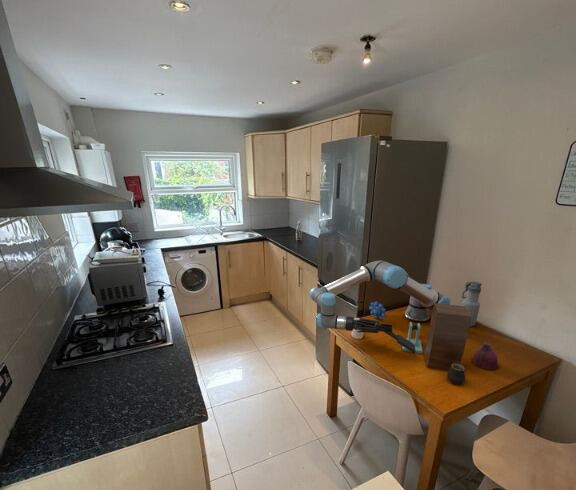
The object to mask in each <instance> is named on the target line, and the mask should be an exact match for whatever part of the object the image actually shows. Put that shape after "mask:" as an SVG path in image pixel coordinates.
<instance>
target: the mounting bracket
mask: <svg viewBox="0 0 576 490" xmlns="http://www.w3.org/2000/svg"><path fill="white" fill-rule="evenodd" d="M412 324H413V321H412V322H411V321H410V322H409V324H408V332H407V337H404V338H405V339H407V340H408V341H410V342H412V343H413V344H415V350H416V352H415V353H414V354H423V353H424V352H423V350H424V349H423V346H422V341H421V340H420V339H419V338H420V331H421V329H422V327H421V322H417V324H416V325H417V330H416V331H415V338H411V337H412V331H413V330H412ZM401 347H402V348H401V349H402V351H403V352H410V353H412V352H411V351H409V350H408V349H406V348H405V347H403V346H402V345H401Z"/></svg>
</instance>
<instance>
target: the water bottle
mask: <svg viewBox="0 0 576 490" xmlns="http://www.w3.org/2000/svg"><path fill="white" fill-rule="evenodd" d="M482 285H483V283H482V282H478V281H474V280H472V281H468V282H466V283H465V284H464V289H465V290H463V291H462V295H461V298H462V299H463V300H462V302H461V306H466V308H467V310H468V311H469V313H470V315H471V316H472V318H471V322H470V326H469V327H475V326H476V323H477V320H478V316H479V312H480V307H481V303H480V302H479V298H480V294H481V292H482ZM465 293H466V296H465Z"/></svg>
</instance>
